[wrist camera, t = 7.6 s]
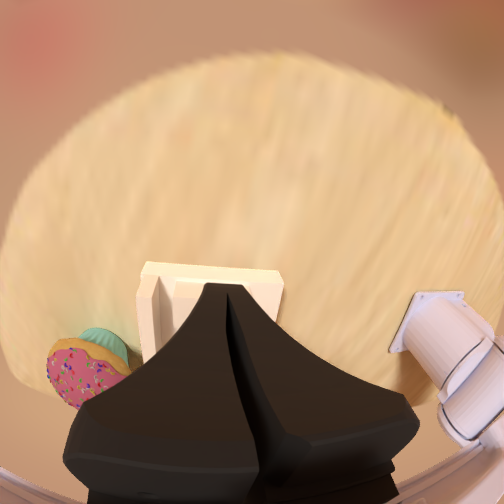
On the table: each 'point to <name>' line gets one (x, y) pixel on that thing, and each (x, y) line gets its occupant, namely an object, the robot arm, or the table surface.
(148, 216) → the table surface
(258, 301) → the cream lipped block
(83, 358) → the cupcake
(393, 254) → the table surface
